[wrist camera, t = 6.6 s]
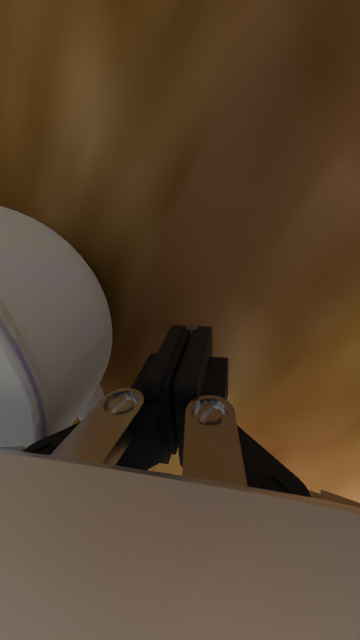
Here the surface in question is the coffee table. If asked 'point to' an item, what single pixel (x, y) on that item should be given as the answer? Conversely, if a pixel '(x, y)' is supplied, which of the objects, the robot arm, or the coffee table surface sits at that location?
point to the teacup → (47, 332)
